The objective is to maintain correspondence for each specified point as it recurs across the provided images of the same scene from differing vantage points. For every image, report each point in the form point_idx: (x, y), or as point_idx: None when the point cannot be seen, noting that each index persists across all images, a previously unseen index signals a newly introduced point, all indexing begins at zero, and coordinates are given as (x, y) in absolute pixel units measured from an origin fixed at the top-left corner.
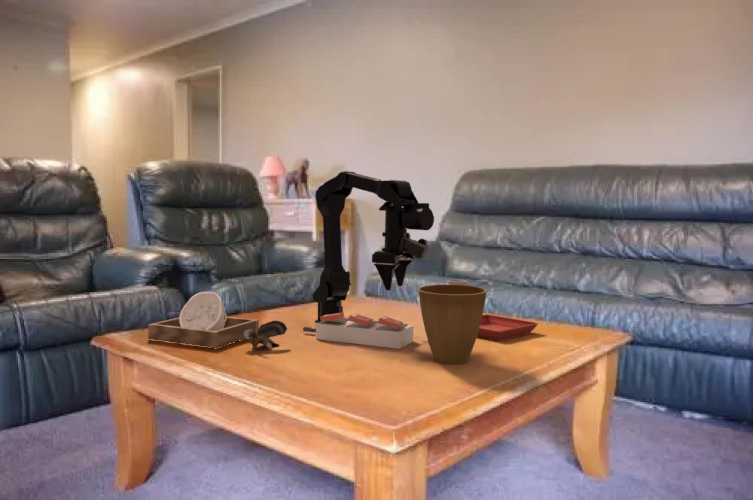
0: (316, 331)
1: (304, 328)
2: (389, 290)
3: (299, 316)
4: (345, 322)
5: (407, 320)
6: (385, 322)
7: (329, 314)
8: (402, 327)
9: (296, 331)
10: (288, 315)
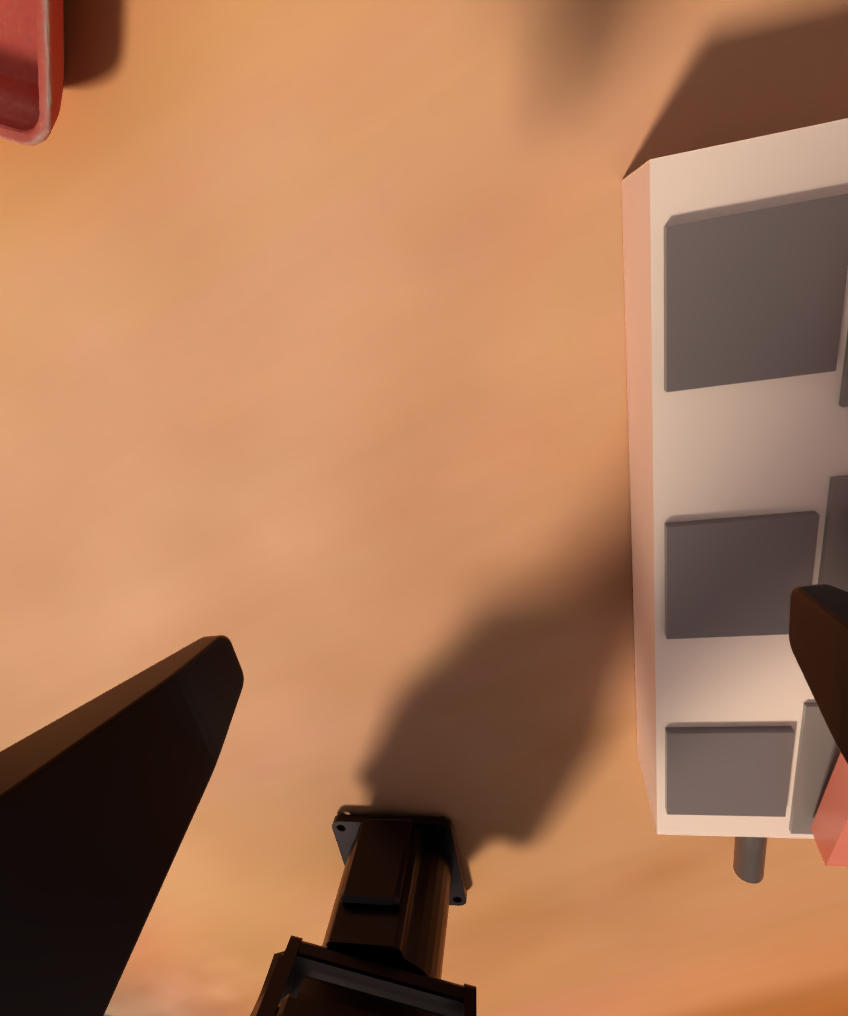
0: None
1: (763, 870)
2: (817, 589)
3: None
4: None
5: (54, 565)
6: None
7: (843, 851)
8: (827, 197)
9: (705, 886)
10: None
